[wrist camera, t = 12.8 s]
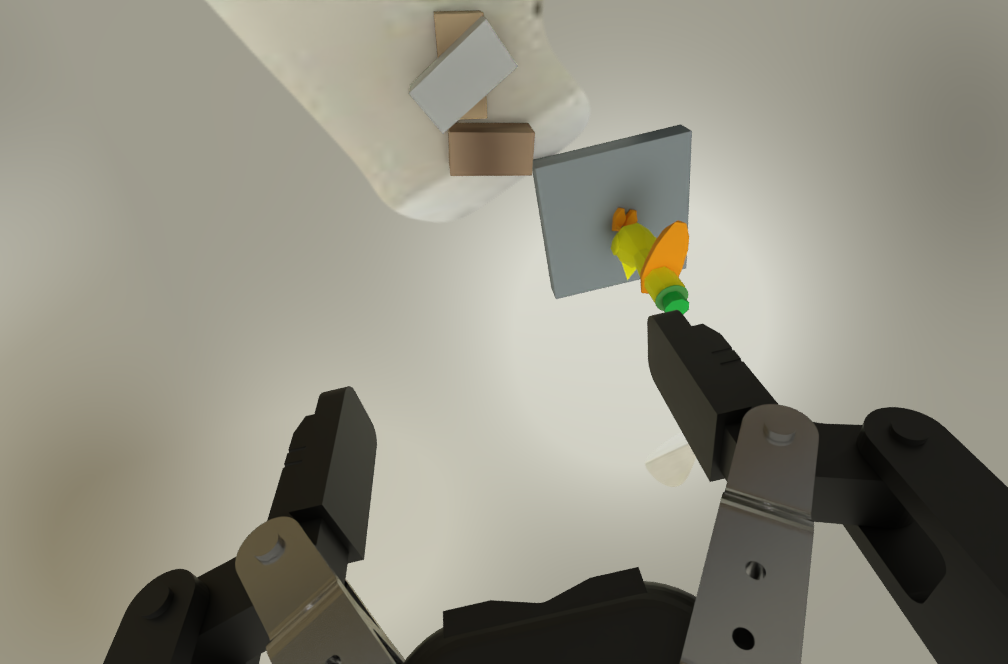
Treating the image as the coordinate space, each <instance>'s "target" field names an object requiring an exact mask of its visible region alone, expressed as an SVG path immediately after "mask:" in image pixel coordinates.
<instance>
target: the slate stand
mask: <svg viewBox="0 0 1008 664" xmlns="http://www.w3.org/2000/svg"><path fill="white" fill-rule="evenodd" d="M691 138H692V131H691V130H689V129H687V128H686V127H684V126H682V125H677V126H673V127H668V128H665V129H660V130H656V131H652V132H648V133H644V134H640V135H635V136H632V137H628V138H623V139H619V140H615V141H611V142H606V143H603V144H599V145H594V146H590V147H586V148H582V149H578V150H573V151H569V152H565V153H561V154H557V155H553V156H549V157H544V158H540V159H536V160H533V167H532V171H533V177H534V183H535V188H536V195H537V202H538V208H539V214H540V220H541V226H542V233H543V238H544V245H545V251H546V257H547V263H548V269H549V276H550V282H551V288H552V290H553V293H554V296H555V298H556V299H558V298H563V297H567V296H571V295H575V294H579V293H584V292H588V291H592V290H596V289H601V288H605V287H609V286H613V285H618V284H622V283H626V282H630V281H634V280H639V279H640V276H639V274H638V271H637V269H636V270H635V271H634V273H633V274H632V275H631V276H630V278H629V279H628V280H627V277H626V274H625V271H624V268H623V265H622V262H621V261H620V260H619V258H618V257H617V255H613V253H612V250H611V244H612V240H613V238H614V237H615V235H616V234H617V232H618V231H612V220H613V215H614V213H615V211H616V210H617V208H624V209H625V215H626V214H627V213H628V211H629V210H630V209H631V210H636V211H637V219H638V221H637V223H639V224H641V225H642V226H644V227H645V228H647V229H649V230H650V232H651V233H652V234H653V235H654V237H656V238H658V236H659V235H660V233H661V232H662V231H663V230H664V229H665V228H666V227H667V226H669V225H671V224H672V223H674V222H676V221H677V220H679V221H682V222H684V223H686V224H687V229H688V211H689V186H690V185H689V184H690V161H691ZM622 227H623V226H622ZM622 227H621V228H622ZM686 261H687V255H686V258H685V261H684V265H683V268H682V269H685V268H686Z"/></svg>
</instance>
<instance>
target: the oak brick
mask: <svg viewBox="0 0 1008 664" xmlns="http://www.w3.org/2000/svg"><path fill="white" fill-rule="evenodd" d="M481 16H483V17H484V13H483V12H481V11H480V10H477V11H439V12H434V20H435V32H436V43H437V55H438V57H439V56H440V55H441V54H442V53H444V52H445V51H446V50H447V49H448V48H449V47H450V46H451V45H452V44H453V43H454V42H455V41H456V40H457V39H458V38H459V37H460V36H461V35H462V34H463V33H464V32H465V31H466V30H467V29H468V28H469V27H470V26H471V25H473V24H474V23H475V22H476V21H477V20H478V19H479V18H480V17H481ZM481 118H487V99H486V96H485V97H483V98H482V99H481V100H480V101H479V102H478V103H477V104H476V105H475V106H473V107H472V108H471V109H470V110H469V111H468V112H467V113H466V114H465V115H463V116H462V117H461V118H460V119H481ZM460 119H459V120H460Z"/></svg>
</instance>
